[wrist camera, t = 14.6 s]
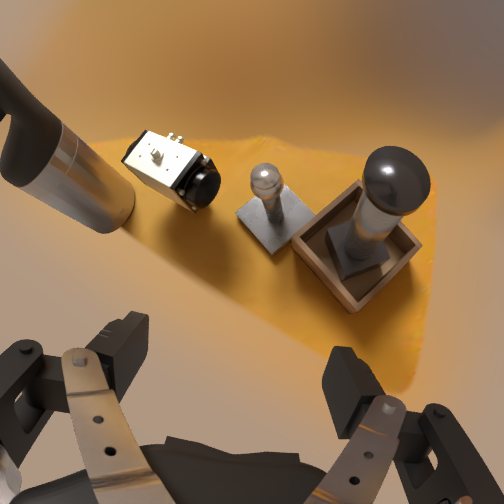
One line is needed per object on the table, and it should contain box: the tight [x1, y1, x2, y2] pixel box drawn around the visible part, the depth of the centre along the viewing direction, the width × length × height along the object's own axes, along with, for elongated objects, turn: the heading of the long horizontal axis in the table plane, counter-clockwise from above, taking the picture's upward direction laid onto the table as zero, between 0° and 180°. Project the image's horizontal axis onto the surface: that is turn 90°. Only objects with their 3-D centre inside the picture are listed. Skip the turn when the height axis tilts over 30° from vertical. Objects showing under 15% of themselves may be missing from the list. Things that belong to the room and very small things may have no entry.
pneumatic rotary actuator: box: [121, 130, 221, 213], centre depth 33 cm, size 6×12×12 cm, turn 57°
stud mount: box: [235, 163, 316, 257], centre depth 31 cm, size 7×7×11 cm
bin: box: [291, 179, 423, 314], centre depth 31 cm, size 10×10×5 cm
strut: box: [324, 146, 431, 282], centre depth 24 cm, size 5×5×18 cm
